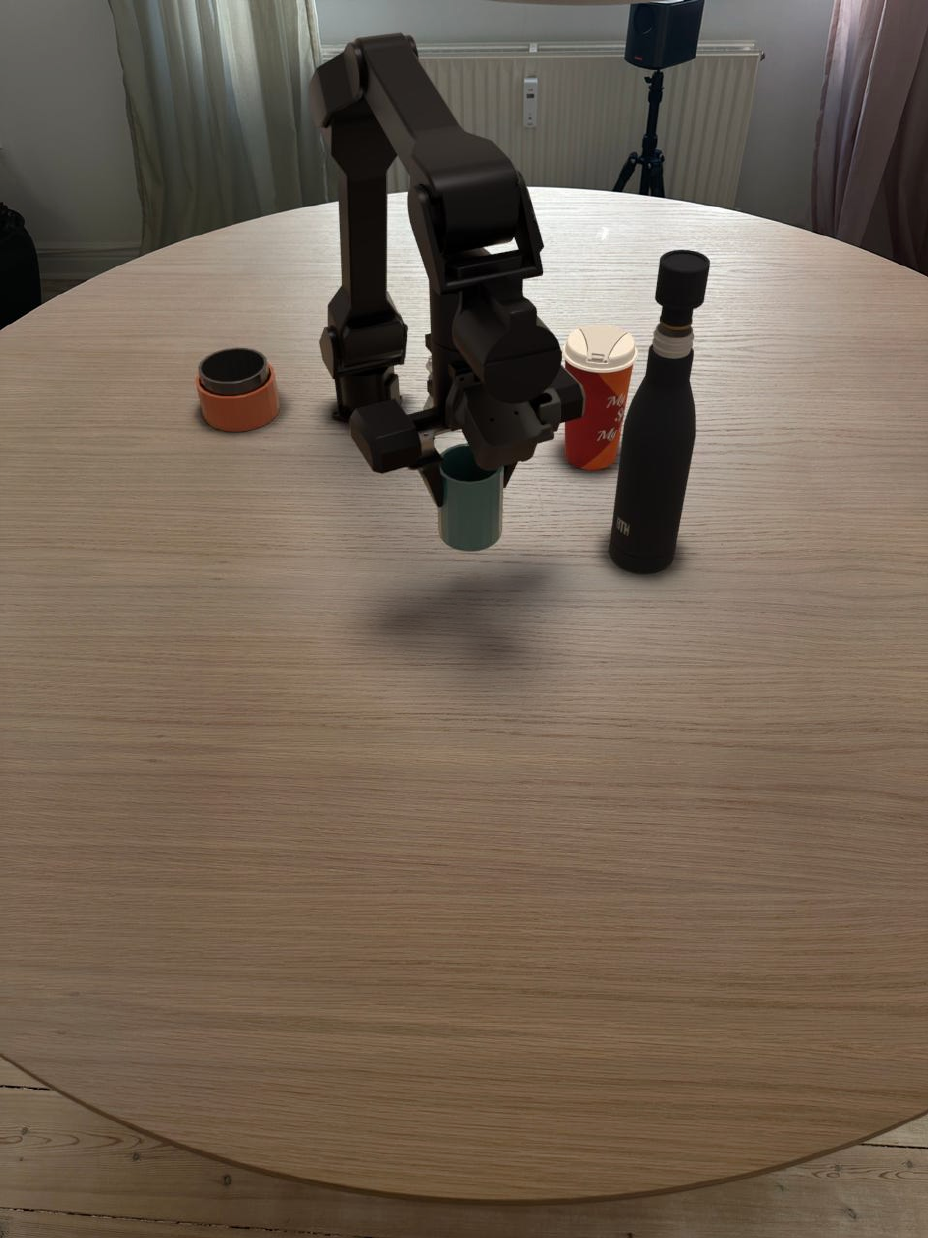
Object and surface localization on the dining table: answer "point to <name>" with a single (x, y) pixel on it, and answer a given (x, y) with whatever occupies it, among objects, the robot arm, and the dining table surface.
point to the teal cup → (469, 501)
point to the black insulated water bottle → (660, 425)
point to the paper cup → (598, 392)
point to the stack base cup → (241, 407)
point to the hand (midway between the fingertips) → (469, 495)
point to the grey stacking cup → (234, 372)
